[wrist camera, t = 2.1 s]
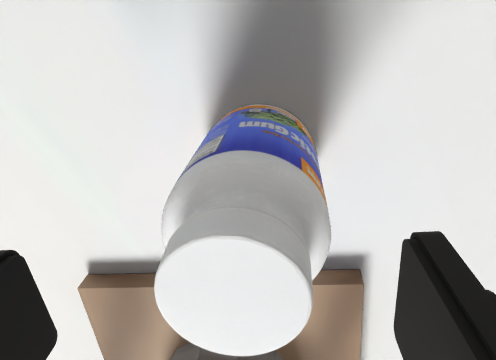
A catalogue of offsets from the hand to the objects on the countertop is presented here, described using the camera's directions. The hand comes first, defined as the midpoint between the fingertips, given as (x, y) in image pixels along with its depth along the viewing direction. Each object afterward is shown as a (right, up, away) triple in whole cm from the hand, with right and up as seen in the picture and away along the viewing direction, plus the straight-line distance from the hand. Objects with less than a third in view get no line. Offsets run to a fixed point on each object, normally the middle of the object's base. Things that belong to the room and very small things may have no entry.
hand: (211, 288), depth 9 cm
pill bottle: (+1, +4, +9) cm, 10 cm away
